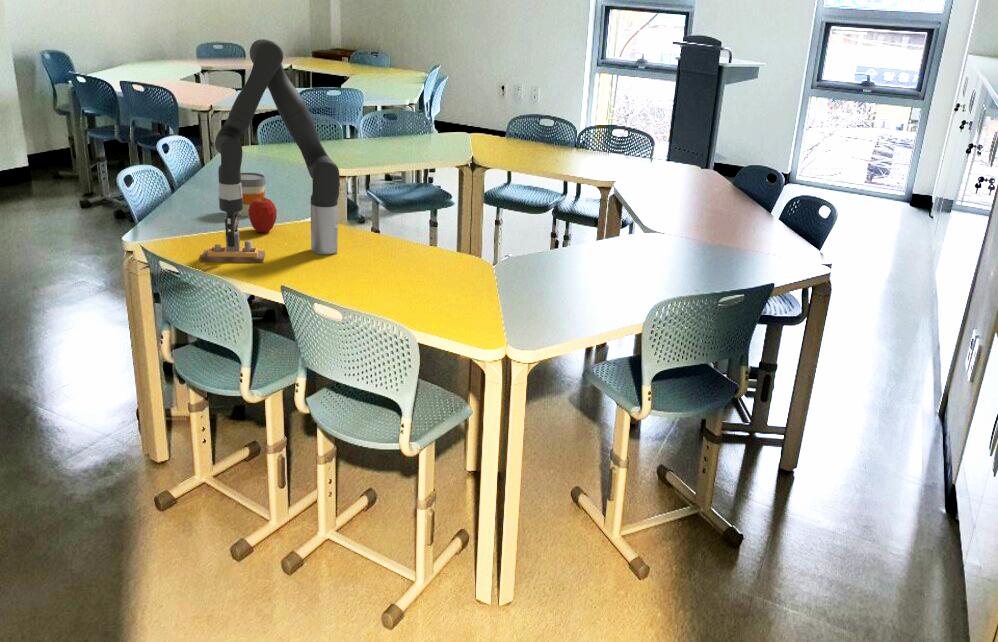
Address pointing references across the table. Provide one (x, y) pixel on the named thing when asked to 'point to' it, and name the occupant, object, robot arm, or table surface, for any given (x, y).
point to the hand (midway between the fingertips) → (232, 242)
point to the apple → (262, 214)
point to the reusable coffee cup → (251, 189)
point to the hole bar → (233, 250)
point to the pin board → (234, 259)
